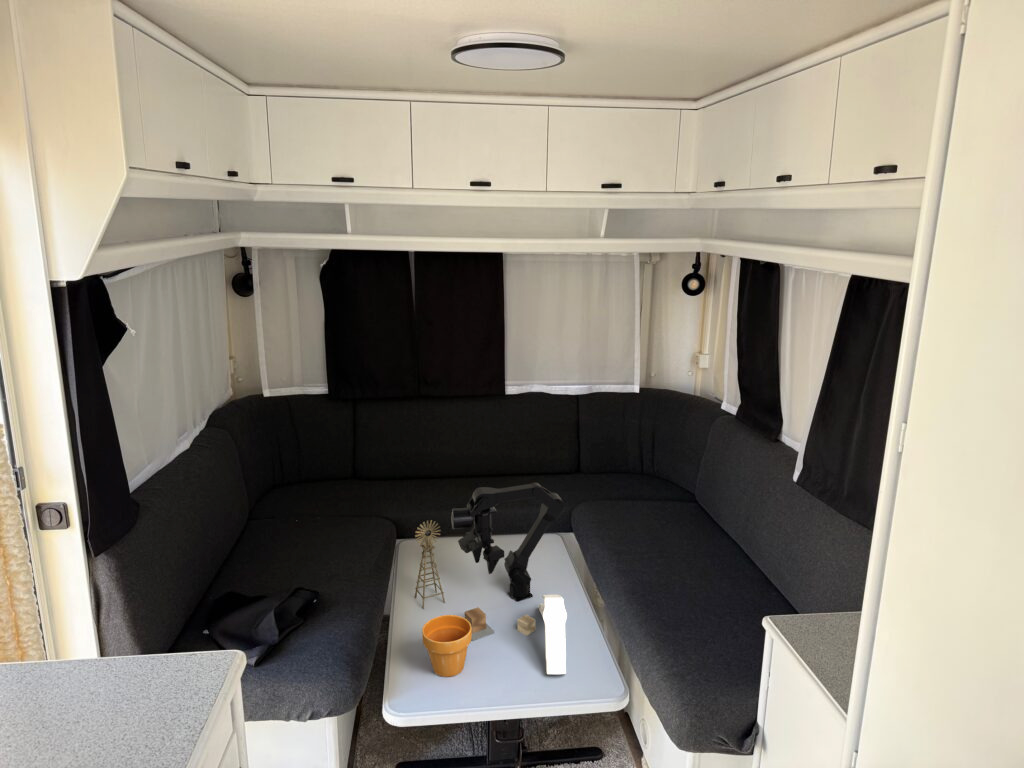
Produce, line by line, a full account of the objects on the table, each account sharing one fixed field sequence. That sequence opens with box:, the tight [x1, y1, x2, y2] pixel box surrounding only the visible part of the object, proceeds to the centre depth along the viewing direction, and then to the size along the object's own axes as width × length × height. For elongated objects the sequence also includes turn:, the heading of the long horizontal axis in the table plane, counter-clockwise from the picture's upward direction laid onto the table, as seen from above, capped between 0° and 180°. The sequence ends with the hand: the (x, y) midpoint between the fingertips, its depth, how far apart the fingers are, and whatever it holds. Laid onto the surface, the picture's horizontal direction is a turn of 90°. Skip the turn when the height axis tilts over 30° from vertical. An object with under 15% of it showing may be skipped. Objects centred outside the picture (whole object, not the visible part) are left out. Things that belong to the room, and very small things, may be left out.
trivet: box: [471, 622, 495, 642], centre depth 221 cm, size 8×10×1 cm
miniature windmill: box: [414, 519, 446, 610], centre depth 235 cm, size 9×8×30 cm
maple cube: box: [516, 614, 536, 637], centre depth 220 cm, size 4×4×4 cm
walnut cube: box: [464, 606, 487, 633], centre depth 220 cm, size 5×5×5 cm
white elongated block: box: [538, 594, 568, 675], centre depth 214 cm, size 7×33×21 cm, turn 0°
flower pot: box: [421, 614, 472, 678], centre depth 201 cm, size 14×14×13 cm
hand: (483, 568), depth 236 cm, fingers open, 9 cm apart
